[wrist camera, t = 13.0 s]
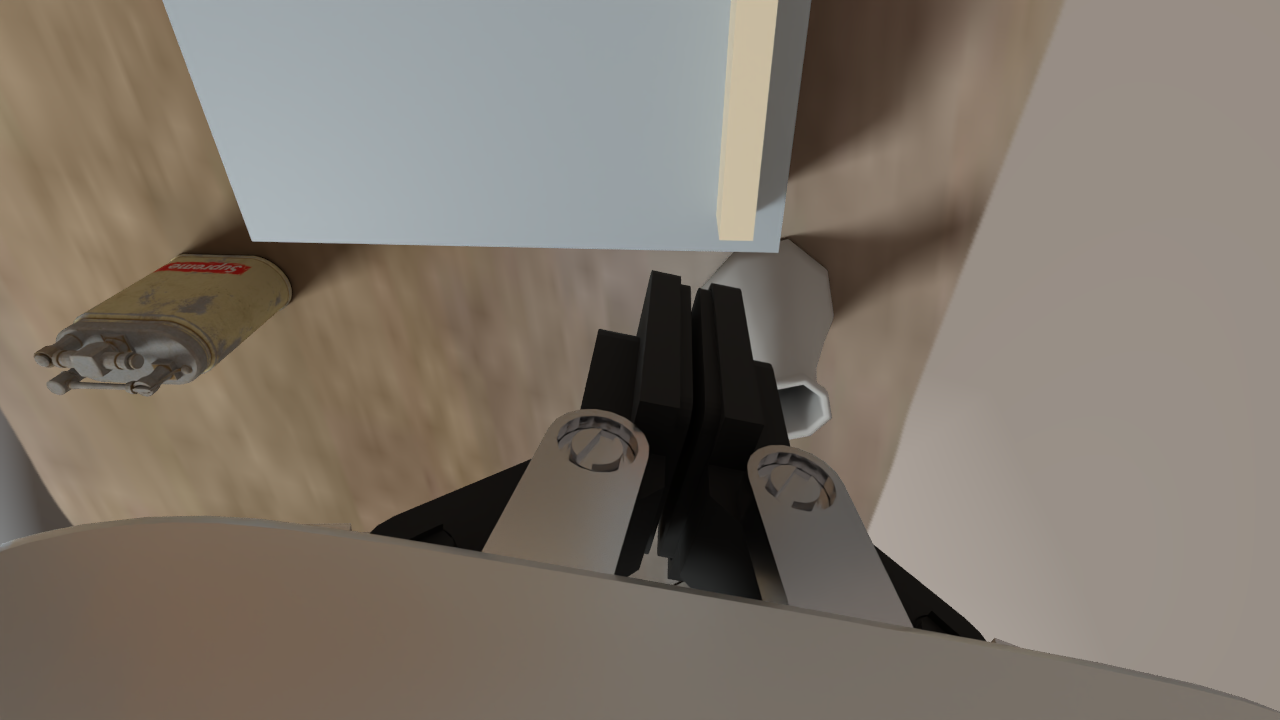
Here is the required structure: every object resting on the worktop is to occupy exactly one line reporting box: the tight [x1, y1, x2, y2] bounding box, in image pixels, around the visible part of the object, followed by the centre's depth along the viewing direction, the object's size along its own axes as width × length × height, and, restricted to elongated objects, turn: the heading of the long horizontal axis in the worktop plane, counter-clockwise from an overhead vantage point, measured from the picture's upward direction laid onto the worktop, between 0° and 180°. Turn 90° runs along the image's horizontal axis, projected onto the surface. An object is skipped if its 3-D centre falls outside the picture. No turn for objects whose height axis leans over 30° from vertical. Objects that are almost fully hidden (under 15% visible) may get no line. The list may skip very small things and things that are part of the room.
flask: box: [701, 239, 834, 439], centre depth 30 cm, size 7×7×10 cm
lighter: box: [34, 254, 292, 396], centre depth 31 cm, size 7×4×10 cm, turn 90°
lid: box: [163, 0, 811, 253], centre depth 21 cm, size 13×22×4 cm, turn 90°
